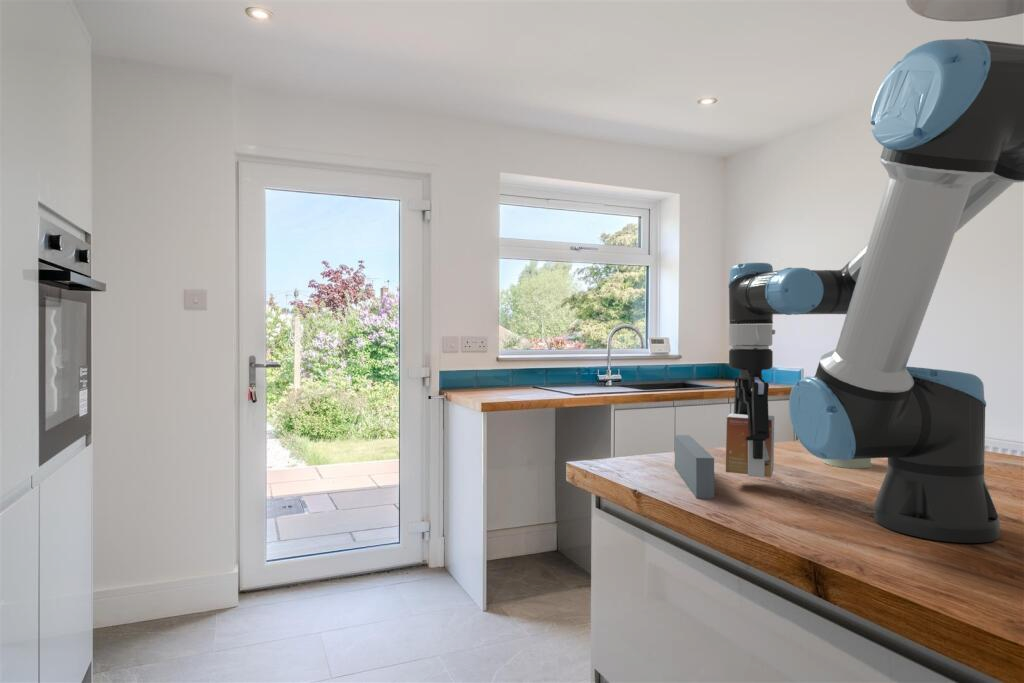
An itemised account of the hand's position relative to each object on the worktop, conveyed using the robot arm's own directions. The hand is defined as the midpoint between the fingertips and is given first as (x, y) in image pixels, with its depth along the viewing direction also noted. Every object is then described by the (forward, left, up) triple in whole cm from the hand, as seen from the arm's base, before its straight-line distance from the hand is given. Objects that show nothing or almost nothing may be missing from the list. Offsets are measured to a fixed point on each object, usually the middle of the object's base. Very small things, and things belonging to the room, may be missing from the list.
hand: (750, 470), depth 114 cm
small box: (0, 0, 0) cm, 0 cm away
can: (+22, -26, -3) cm, 34 cm away
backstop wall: (+3, +10, -3) cm, 11 cm away
